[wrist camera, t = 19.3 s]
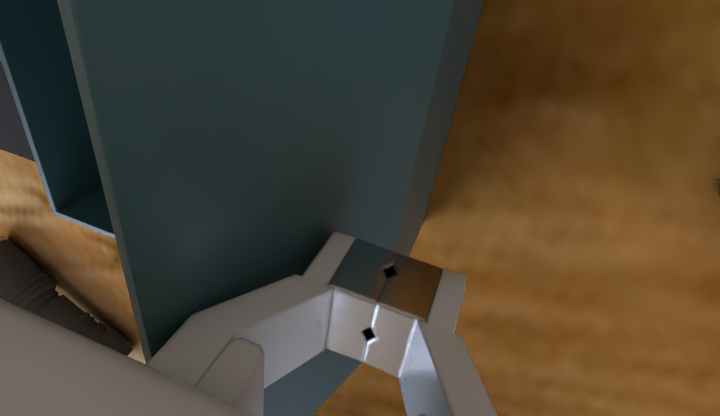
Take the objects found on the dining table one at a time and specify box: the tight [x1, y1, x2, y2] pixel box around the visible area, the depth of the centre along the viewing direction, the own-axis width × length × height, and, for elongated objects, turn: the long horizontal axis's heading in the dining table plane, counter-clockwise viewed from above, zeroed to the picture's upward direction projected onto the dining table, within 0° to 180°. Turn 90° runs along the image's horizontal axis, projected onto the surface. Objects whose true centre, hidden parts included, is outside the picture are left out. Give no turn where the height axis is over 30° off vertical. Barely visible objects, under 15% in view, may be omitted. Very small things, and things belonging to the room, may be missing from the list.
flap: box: [57, 0, 454, 416], centre depth 10 cm, size 8×14×1 cm
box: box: [0, 0, 485, 256], centre depth 18 cm, size 16×15×8 cm
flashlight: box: [0, 236, 133, 356], centre depth 40 cm, size 15×5×5 cm, turn 48°
